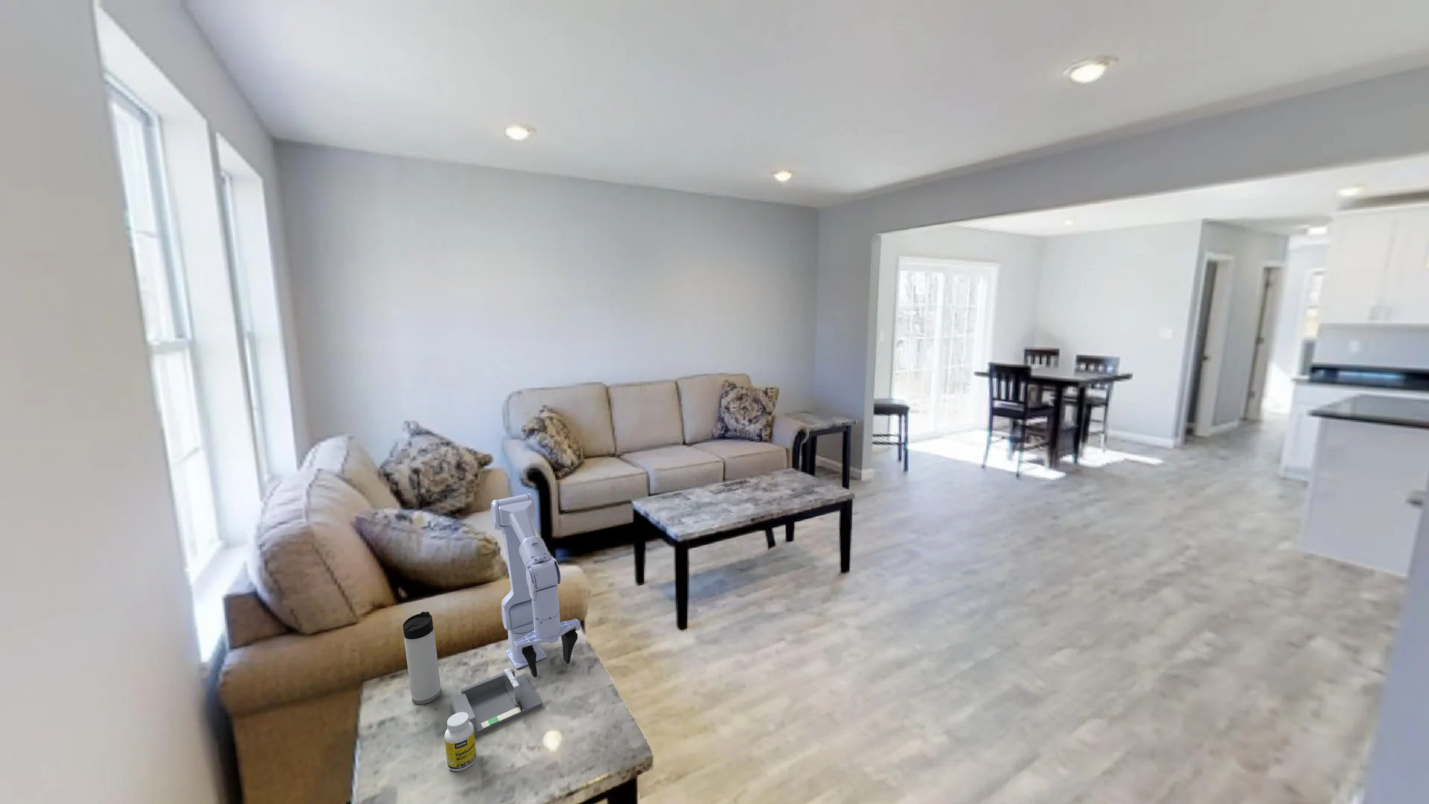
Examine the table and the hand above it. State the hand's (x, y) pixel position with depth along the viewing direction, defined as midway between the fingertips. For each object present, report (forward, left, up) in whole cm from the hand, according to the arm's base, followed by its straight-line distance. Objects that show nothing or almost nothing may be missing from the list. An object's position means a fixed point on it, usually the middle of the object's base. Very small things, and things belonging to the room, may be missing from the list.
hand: (550, 668), depth 127 cm
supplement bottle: (+4, -21, -10) cm, 23 cm away
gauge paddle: (-7, -7, -8) cm, 13 cm away
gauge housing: (-8, -11, -10) cm, 16 cm away
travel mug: (-23, -23, -10) cm, 34 cm away
